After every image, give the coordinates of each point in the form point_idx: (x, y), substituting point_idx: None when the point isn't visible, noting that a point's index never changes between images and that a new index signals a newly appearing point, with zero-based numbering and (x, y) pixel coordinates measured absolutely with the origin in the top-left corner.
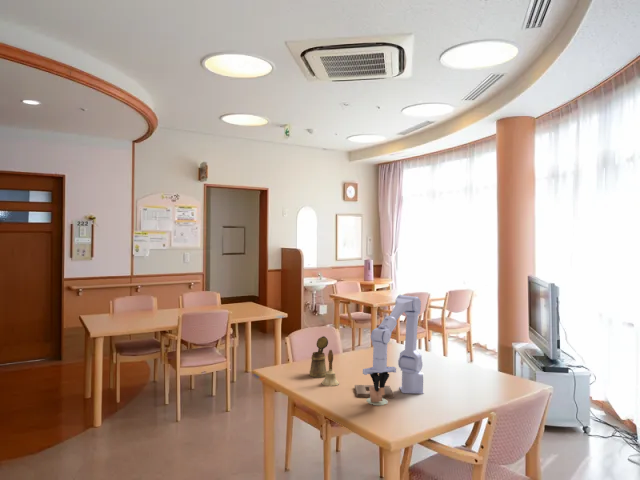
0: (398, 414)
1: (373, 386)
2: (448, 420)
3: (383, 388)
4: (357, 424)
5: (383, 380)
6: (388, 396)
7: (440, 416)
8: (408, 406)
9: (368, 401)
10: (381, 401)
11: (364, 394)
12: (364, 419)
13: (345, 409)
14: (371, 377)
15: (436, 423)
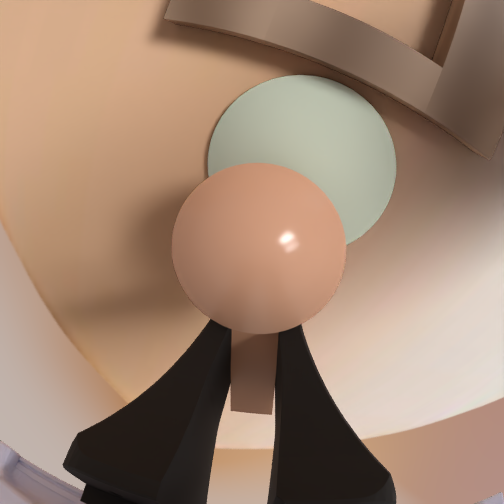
0: None
1: (232, 249)
2: (428, 422)
3: (266, 408)
4: (97, 369)
5: (271, 469)
6: (449, 132)
7: (440, 403)
8: (438, 311)
9: (220, 161)
10: (332, 197)
11: (235, 33)
12: (124, 356)
13: (52, 238)
14: (120, 413)
15: (376, 432)
